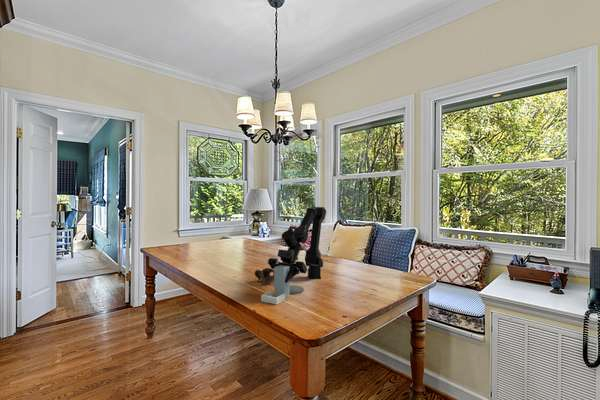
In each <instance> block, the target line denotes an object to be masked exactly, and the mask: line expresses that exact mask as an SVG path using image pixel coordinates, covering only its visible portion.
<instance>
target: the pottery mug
mask: <svg viewBox="0 0 600 400" xmlns="http://www.w3.org/2000/svg"><path fill="white" fill-rule="evenodd" d="M271 273H273V275H270V274H271ZM254 275H255V277H256V278H257V279H258V281H261V284H262V285H263V286H264V285H266V284H268V283H271V282H273V281H274V269H272V268H271V267H270V268H269V267H265V268H263V269H262V270H260V269H256V270H255V271H254Z"/></svg>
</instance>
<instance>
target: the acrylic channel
mask: <svg viewBox="0 0 600 400" xmlns="http://www.w3.org/2000/svg"><path fill="white" fill-rule="evenodd" d="M260 299H261V302H263V303H268V304H273V305H278V304H280V303H282V302H283V301H285V300H286V297H285V293H283V294H282V295H280V296H278V297H275V296H273V291H272V290H269V291H267V292H266V293H263V294H262V295H261V297H260Z"/></svg>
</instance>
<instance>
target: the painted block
mask: <svg viewBox="0 0 600 400" xmlns="http://www.w3.org/2000/svg"><path fill="white" fill-rule="evenodd" d="M289 268H290V266H284V265H279V266H276V267H274V269H273V270H274V273H273V274H274V280H273V281H274V282H273V283H274V284H273V297H278V296H280V295H282V294H283V293H285V298H286V297H289V296H291V294H290V285H291V284H290V283H291V282H290V281H291V279H290V280H289V281H288V282H287V283H285V279H286V277H287V275H288V272H289Z"/></svg>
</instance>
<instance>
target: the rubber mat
mask: <svg viewBox="0 0 600 400" xmlns="http://www.w3.org/2000/svg"><path fill="white" fill-rule="evenodd" d="M304 291H305V288H304V287H303V286H301V285H295V284H292V285H291V284H290V295H298V294H302V293H304Z"/></svg>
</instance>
